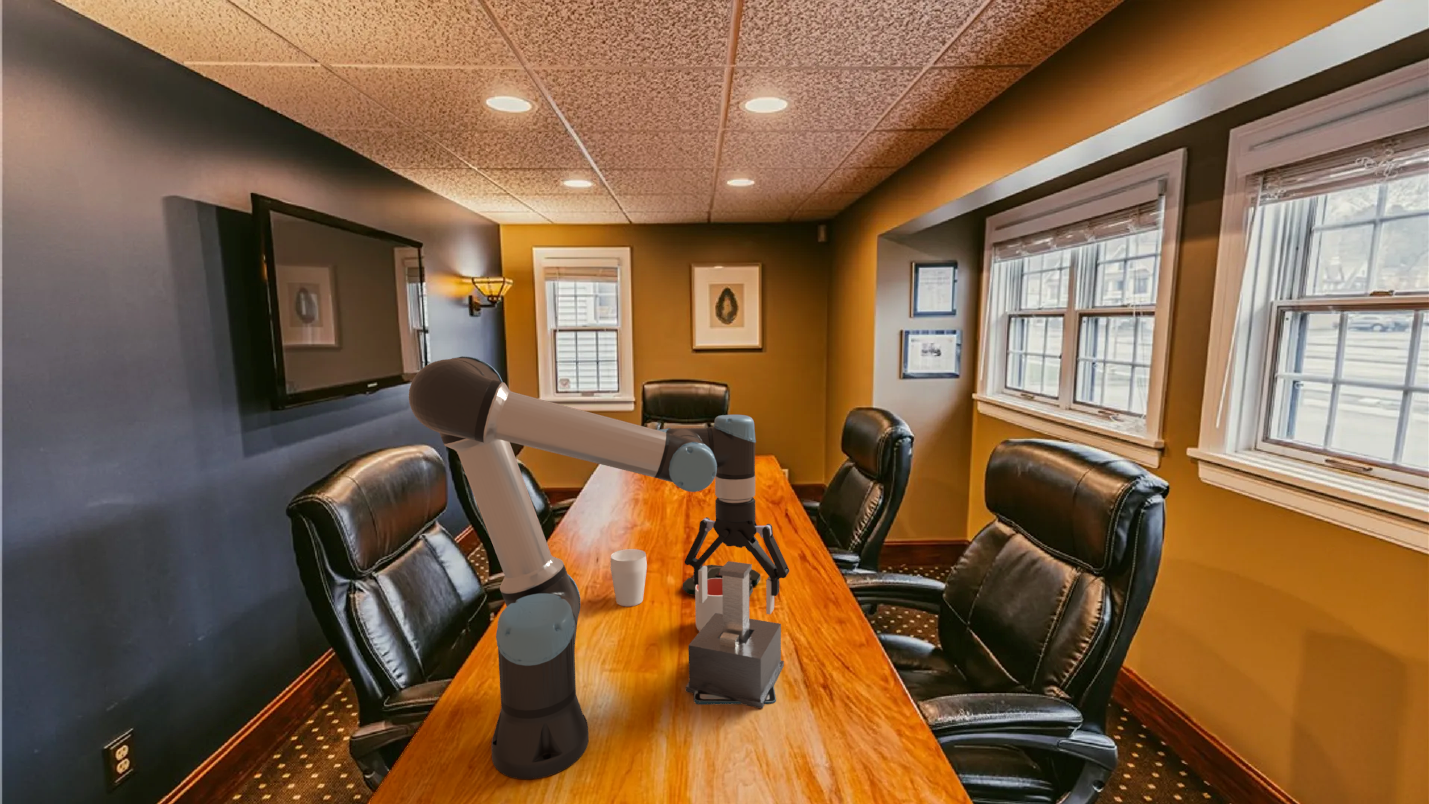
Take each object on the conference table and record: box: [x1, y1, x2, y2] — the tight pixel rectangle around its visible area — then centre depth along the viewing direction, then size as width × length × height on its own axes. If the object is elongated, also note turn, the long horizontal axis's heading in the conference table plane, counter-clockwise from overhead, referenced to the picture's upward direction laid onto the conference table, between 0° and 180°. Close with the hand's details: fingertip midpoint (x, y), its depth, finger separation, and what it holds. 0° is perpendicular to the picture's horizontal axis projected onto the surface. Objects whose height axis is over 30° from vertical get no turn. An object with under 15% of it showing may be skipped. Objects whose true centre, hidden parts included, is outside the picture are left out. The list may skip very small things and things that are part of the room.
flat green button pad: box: [682, 564, 761, 598], centre depth 160 cm, size 18×18×5 cm
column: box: [720, 560, 753, 644], centre depth 116 cm, size 5×5×21 cm
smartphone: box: [693, 685, 777, 706], centre depth 113 cm, size 7×1×15 cm
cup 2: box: [694, 578, 723, 632], centre depth 137 cm, size 10×10×10 cm
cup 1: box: [610, 548, 648, 607], centre depth 152 cm, size 9×9×12 cm
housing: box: [685, 613, 785, 709], centre depth 117 cm, size 15×15×10 cm
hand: (736, 605), depth 116 cm, fingers open, 13 cm apart
